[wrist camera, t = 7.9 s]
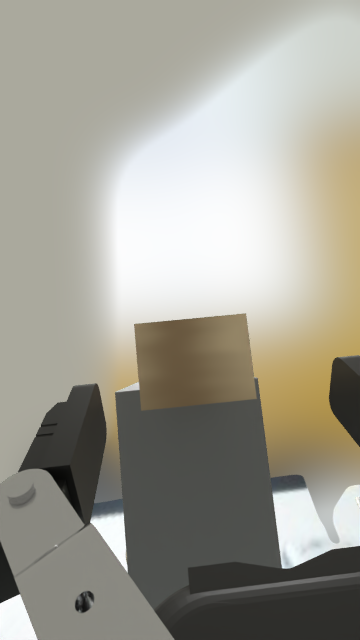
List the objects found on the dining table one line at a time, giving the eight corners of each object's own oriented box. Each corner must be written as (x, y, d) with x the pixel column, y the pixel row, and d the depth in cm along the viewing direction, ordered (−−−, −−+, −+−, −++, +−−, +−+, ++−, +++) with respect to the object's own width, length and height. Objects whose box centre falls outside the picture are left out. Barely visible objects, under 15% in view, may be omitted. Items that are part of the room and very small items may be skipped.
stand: (163, 1079, 18) (115, 392, 23) (169, 713, 38) (142, 380, 43) (343, 1050, 19) (257, 377, 24) (257, 702, 38) (220, 372, 43)
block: (141, 410, 11) (133, 324, 12) (165, 378, 41) (163, 354, 42) (256, 398, 12) (245, 313, 12) (197, 375, 41) (195, 350, 42)
